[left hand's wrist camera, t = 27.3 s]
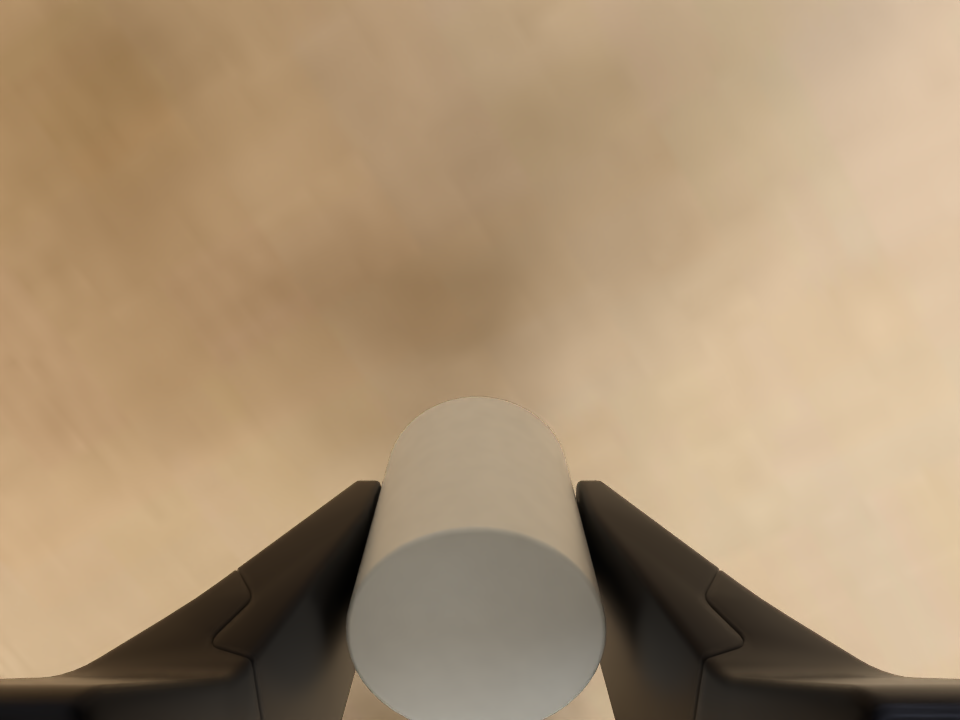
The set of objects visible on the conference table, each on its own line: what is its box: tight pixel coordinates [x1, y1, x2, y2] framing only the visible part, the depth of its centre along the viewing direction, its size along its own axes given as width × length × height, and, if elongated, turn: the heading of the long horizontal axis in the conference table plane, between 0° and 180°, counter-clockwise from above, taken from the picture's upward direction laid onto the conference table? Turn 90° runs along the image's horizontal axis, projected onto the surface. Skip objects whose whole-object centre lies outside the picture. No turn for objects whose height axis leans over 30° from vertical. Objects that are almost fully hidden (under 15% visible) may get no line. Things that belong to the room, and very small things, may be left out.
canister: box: [346, 397, 607, 720], centre depth 11 cm, size 4×4×4 cm
